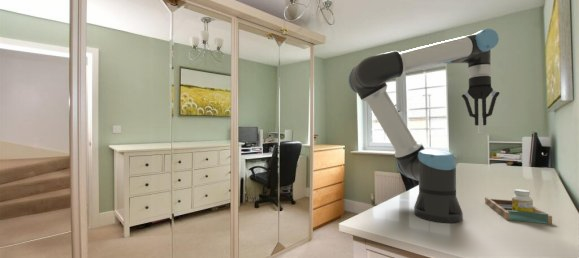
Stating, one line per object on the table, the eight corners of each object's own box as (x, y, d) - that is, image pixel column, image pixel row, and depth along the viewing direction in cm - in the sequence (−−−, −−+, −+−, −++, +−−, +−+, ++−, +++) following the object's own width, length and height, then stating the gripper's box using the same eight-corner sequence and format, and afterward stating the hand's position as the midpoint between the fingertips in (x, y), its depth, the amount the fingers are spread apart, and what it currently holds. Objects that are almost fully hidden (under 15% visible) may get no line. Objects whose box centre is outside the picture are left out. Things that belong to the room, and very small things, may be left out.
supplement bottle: (533, 221, 85) (533, 192, 85) (512, 218, 89) (511, 190, 89) (532, 217, 89) (531, 190, 90) (512, 214, 93) (511, 188, 93)
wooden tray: (485, 203, 108) (485, 196, 108) (521, 206, 103) (521, 198, 103) (506, 219, 88) (505, 210, 88) (552, 224, 83) (551, 214, 83)
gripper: (498, 76, 107) (499, 133, 106) (460, 80, 114) (461, 133, 113) (500, 73, 100) (502, 133, 100) (460, 77, 107) (462, 133, 107)
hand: (480, 133), depth 107 cm, fingers closed
